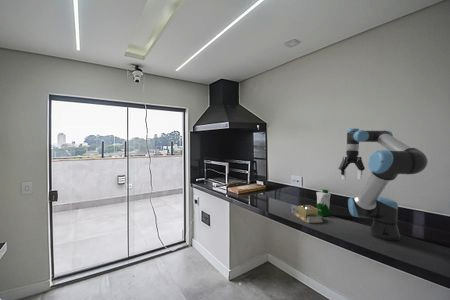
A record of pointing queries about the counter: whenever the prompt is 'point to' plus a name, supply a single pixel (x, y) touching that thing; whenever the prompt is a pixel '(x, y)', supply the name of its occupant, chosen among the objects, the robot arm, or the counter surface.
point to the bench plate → (307, 220)
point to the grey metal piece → (311, 218)
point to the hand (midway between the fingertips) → (351, 179)
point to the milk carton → (323, 203)
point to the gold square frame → (307, 211)
